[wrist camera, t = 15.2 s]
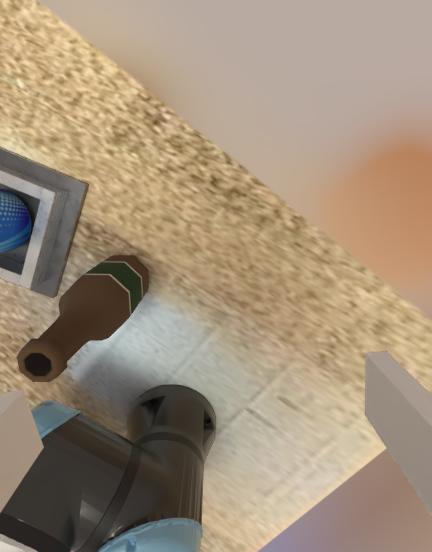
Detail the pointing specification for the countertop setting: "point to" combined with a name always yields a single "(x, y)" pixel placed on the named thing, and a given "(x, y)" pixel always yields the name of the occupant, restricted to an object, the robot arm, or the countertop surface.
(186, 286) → the countertop surface
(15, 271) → the silver square tray
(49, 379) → the beer bottle
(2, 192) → the beer can
